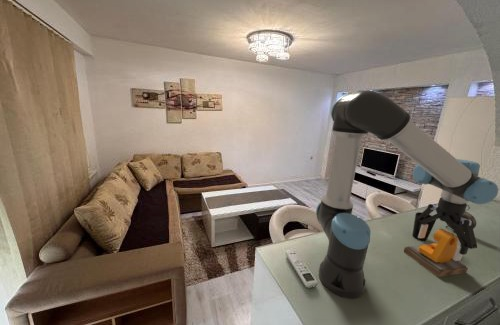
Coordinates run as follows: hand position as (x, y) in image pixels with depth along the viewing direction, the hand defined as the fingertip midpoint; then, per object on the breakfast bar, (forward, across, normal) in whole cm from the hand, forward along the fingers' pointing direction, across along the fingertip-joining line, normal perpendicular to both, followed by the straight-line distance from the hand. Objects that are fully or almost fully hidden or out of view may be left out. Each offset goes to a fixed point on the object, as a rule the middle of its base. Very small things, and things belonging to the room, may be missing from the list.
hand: (437, 247), depth 82 cm
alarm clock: (+7, +17, -37) cm, 41 cm away
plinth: (+7, 0, 0) cm, 7 cm away
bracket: (+4, 0, 0) cm, 4 cm away
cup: (+7, +15, -11) cm, 20 cm away
